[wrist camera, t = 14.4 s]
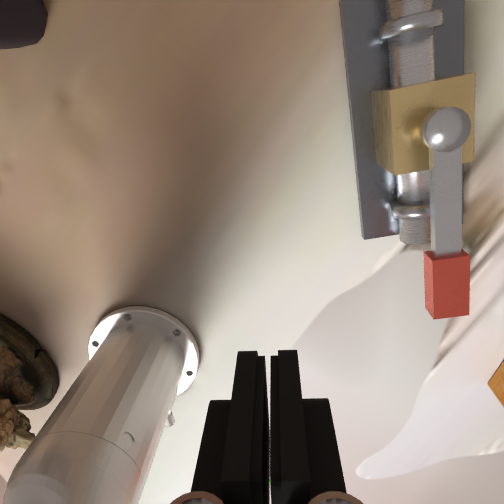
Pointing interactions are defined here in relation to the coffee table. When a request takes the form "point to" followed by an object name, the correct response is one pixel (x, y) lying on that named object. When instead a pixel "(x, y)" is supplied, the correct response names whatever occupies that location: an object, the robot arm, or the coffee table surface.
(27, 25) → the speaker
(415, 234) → the valve body
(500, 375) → the small box
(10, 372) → the owl figurine
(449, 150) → the valve lever
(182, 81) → the coffee table surface
